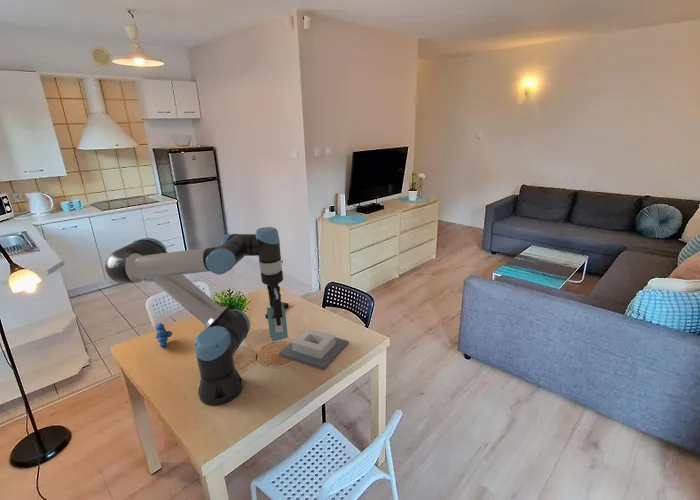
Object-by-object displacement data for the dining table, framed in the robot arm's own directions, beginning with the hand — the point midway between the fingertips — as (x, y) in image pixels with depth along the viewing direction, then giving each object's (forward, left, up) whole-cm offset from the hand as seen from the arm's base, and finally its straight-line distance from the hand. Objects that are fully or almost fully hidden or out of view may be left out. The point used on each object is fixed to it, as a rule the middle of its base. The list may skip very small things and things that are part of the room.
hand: (278, 328), depth 138 cm
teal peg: (0, 0, -4) cm, 4 cm away
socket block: (+17, -4, -19) cm, 25 cm away
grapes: (-9, +56, -19) cm, 60 cm away
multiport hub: (+36, +31, -19) cm, 51 cm away
